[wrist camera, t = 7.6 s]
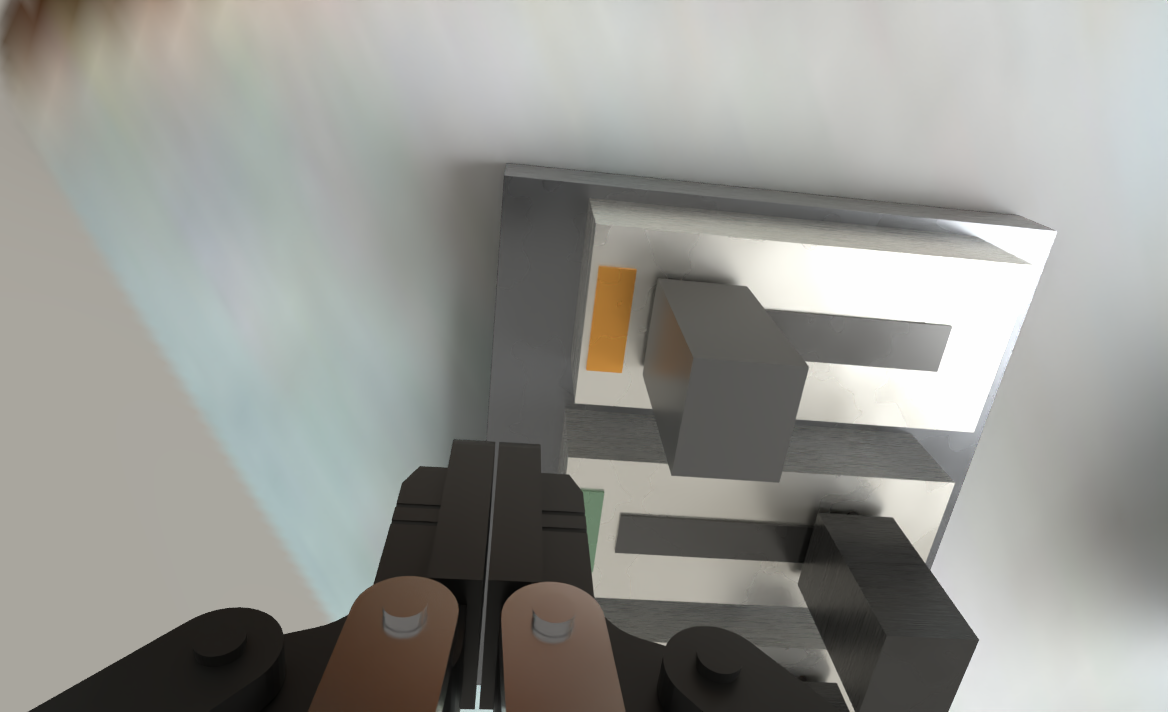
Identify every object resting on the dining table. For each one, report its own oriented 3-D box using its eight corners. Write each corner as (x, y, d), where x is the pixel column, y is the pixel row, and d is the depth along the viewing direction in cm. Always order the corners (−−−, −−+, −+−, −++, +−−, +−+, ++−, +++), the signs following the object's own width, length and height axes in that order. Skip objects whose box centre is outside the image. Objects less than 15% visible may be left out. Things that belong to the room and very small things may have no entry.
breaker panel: (506, 163, 23) (485, 261, 14) (1019, 215, 25) (1308, 336, 16) (474, 645, 31) (446, 913, 22) (862, 661, 33) (990, 918, 24)
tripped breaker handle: (657, 278, 20) (693, 358, 15) (747, 286, 20) (809, 366, 15) (642, 374, 21) (671, 475, 16) (727, 381, 21) (779, 482, 16)
